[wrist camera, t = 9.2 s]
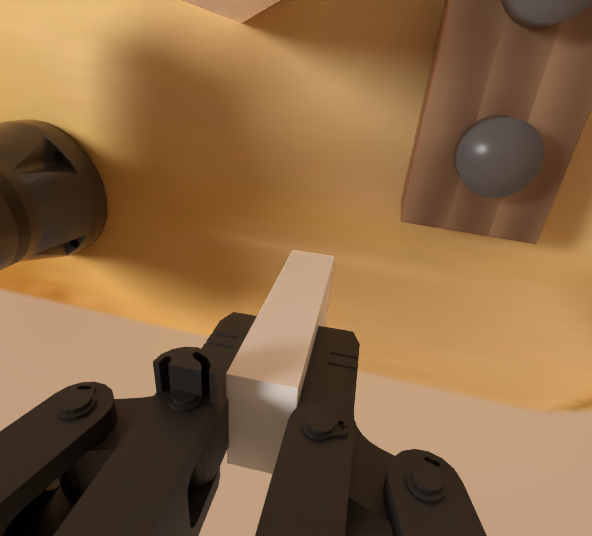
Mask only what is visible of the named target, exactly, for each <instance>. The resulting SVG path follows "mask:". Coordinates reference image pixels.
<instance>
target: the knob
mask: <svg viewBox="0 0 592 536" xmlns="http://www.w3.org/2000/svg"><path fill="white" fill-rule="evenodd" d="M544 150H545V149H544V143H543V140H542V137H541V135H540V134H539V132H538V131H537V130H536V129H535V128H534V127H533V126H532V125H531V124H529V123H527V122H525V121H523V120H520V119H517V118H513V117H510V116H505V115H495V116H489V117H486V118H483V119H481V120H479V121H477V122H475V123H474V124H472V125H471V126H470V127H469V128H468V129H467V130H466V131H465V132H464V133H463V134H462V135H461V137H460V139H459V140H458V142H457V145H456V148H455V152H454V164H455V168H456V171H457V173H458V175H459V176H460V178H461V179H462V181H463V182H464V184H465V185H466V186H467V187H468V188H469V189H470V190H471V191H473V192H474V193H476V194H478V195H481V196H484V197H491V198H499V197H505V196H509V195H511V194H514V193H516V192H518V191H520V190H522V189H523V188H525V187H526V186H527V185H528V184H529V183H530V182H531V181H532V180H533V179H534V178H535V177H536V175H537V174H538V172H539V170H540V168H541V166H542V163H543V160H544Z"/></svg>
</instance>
